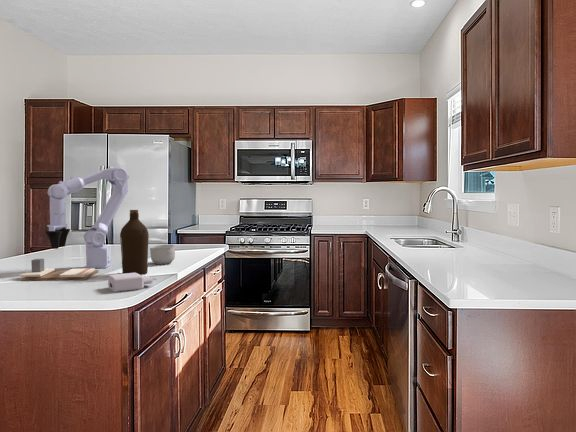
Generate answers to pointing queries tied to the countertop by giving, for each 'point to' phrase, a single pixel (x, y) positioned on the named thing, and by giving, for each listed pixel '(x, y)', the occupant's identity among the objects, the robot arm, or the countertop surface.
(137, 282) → the charger
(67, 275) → the ticket
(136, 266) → the olive oil
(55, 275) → the board
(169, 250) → the teacup
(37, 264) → the stub
